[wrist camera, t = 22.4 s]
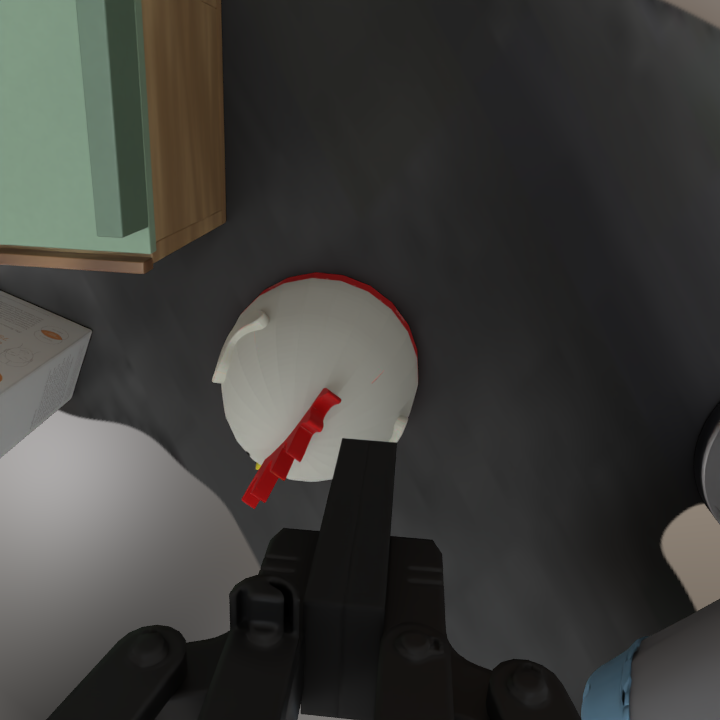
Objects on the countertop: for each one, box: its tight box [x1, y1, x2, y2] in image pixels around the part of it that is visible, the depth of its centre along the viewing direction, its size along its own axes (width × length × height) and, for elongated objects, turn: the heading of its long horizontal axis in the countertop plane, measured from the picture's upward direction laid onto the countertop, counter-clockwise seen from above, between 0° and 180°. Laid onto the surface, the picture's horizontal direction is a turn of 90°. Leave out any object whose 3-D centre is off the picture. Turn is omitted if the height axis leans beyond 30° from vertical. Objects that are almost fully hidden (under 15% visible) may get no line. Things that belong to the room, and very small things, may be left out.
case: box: [0, 0, 226, 274], centre depth 37 cm, size 14×14×15 cm
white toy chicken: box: [212, 272, 418, 509], centre depth 42 cm, size 14×14×15 cm
